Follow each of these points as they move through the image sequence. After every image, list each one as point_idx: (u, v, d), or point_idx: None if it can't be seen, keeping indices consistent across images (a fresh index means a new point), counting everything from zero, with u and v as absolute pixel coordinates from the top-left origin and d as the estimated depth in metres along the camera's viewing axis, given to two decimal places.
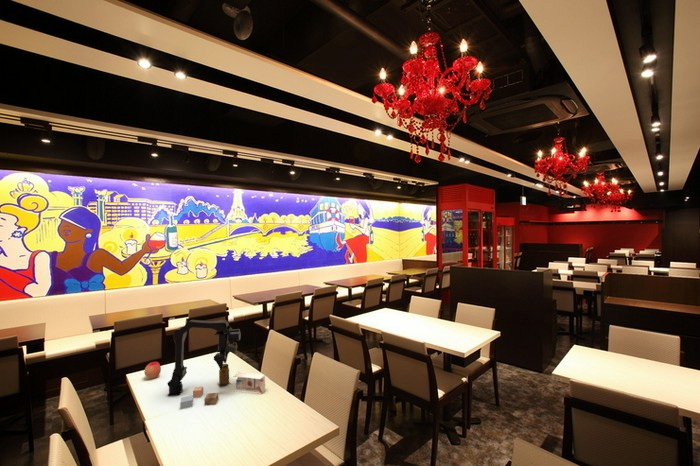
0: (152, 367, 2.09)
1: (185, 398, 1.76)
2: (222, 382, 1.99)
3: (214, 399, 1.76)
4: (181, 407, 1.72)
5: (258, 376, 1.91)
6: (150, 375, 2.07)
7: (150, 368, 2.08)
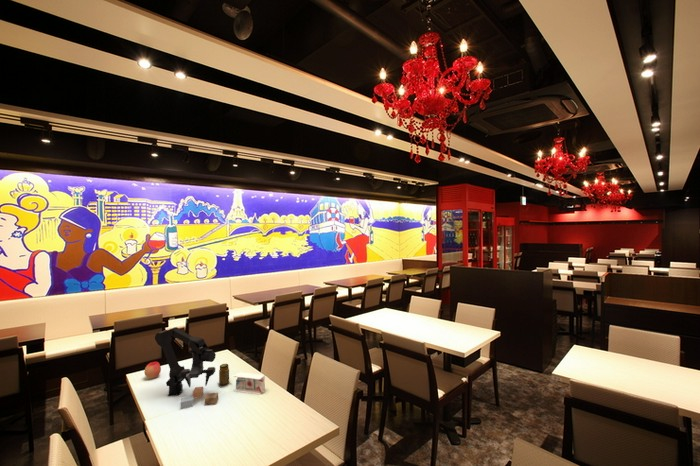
0: (152, 367, 2.09)
1: (185, 398, 1.76)
2: (222, 382, 1.99)
3: (214, 399, 1.77)
4: (181, 407, 1.72)
5: (258, 376, 1.90)
6: (150, 375, 2.07)
7: (150, 368, 2.08)
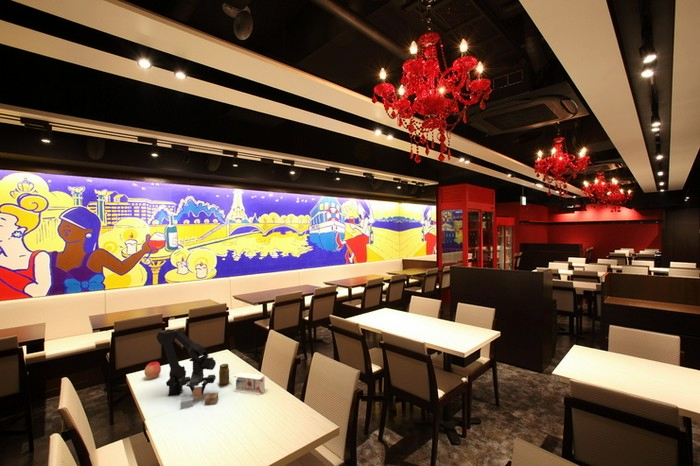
0: (152, 367, 2.09)
1: (185, 398, 1.76)
2: (222, 382, 1.99)
3: (214, 399, 1.77)
4: (181, 407, 1.72)
5: (258, 376, 1.90)
6: (150, 375, 2.07)
7: (150, 368, 2.08)
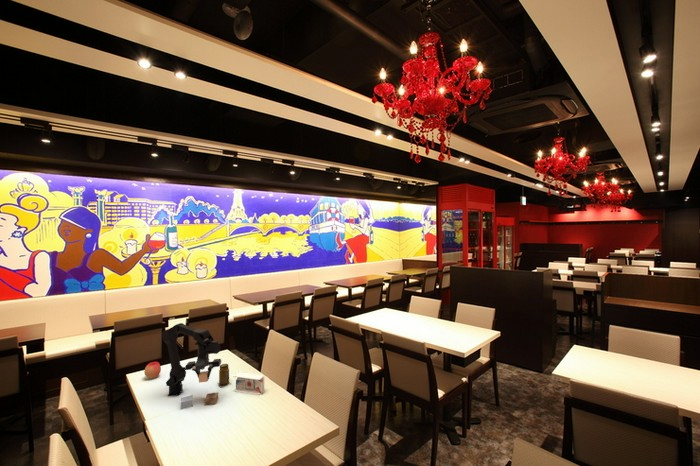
0: (152, 367, 2.09)
1: (185, 398, 1.76)
2: (222, 382, 1.99)
3: (214, 399, 1.77)
4: (181, 407, 1.72)
5: (257, 377, 1.90)
6: (150, 375, 2.07)
7: (150, 368, 2.08)
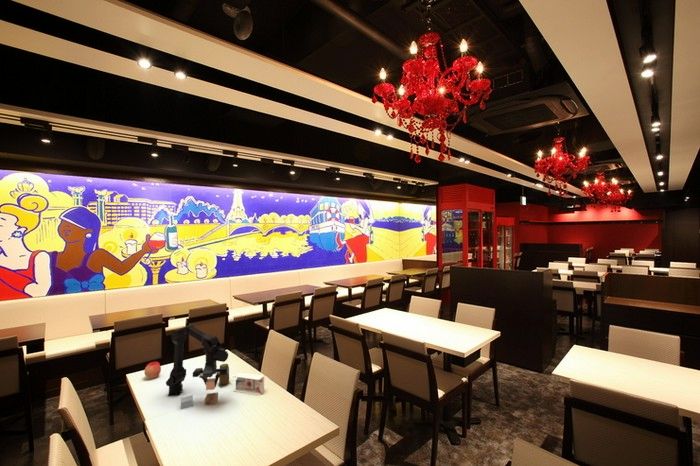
0: (152, 367, 2.09)
1: (185, 398, 1.76)
2: (222, 382, 1.99)
3: (215, 399, 1.77)
4: (182, 407, 1.72)
5: (257, 377, 1.90)
6: (150, 375, 2.07)
7: (150, 368, 2.08)
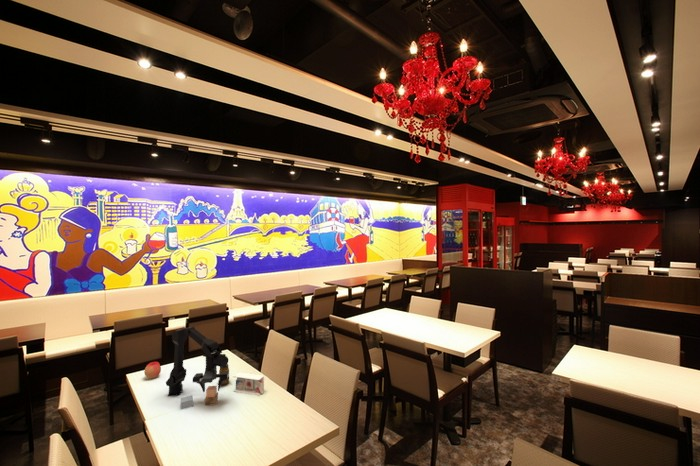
0: (152, 367, 2.09)
1: (185, 398, 1.76)
2: (222, 382, 1.99)
3: (215, 399, 1.77)
4: (182, 407, 1.72)
5: (257, 377, 1.89)
6: (150, 375, 2.07)
7: (150, 368, 2.08)
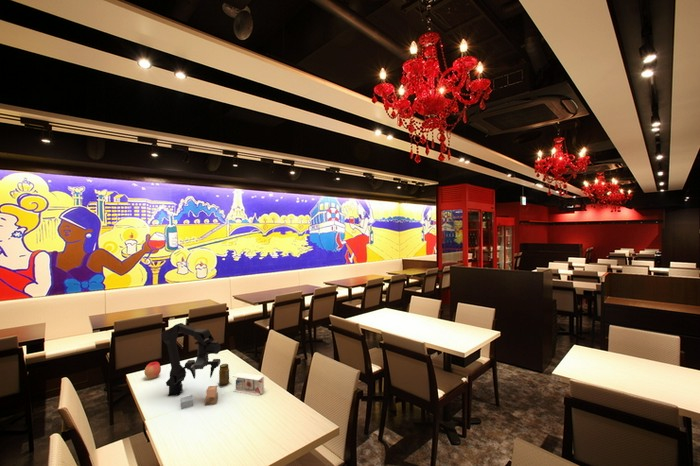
0: (152, 367, 2.09)
1: (185, 398, 1.76)
2: (222, 382, 1.99)
3: (215, 399, 1.77)
4: (182, 407, 1.72)
5: (257, 377, 1.89)
6: (150, 375, 2.07)
7: (150, 368, 2.08)
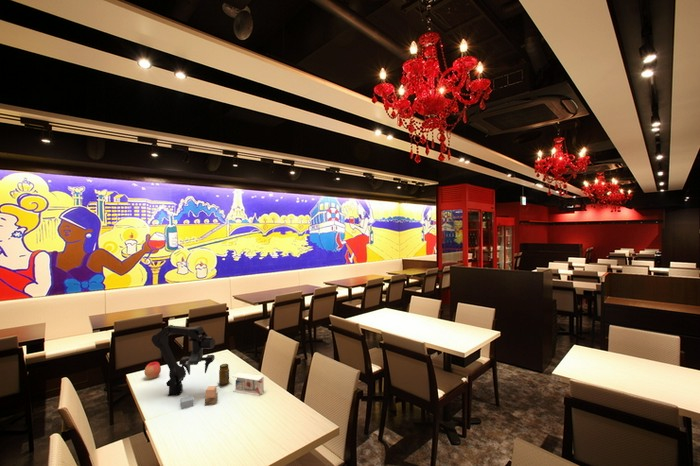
0: (152, 367, 2.09)
1: (185, 398, 1.76)
2: (222, 382, 1.99)
3: (215, 399, 1.77)
4: (182, 407, 1.72)
5: (257, 377, 1.89)
6: (150, 375, 2.07)
7: (150, 368, 2.08)
